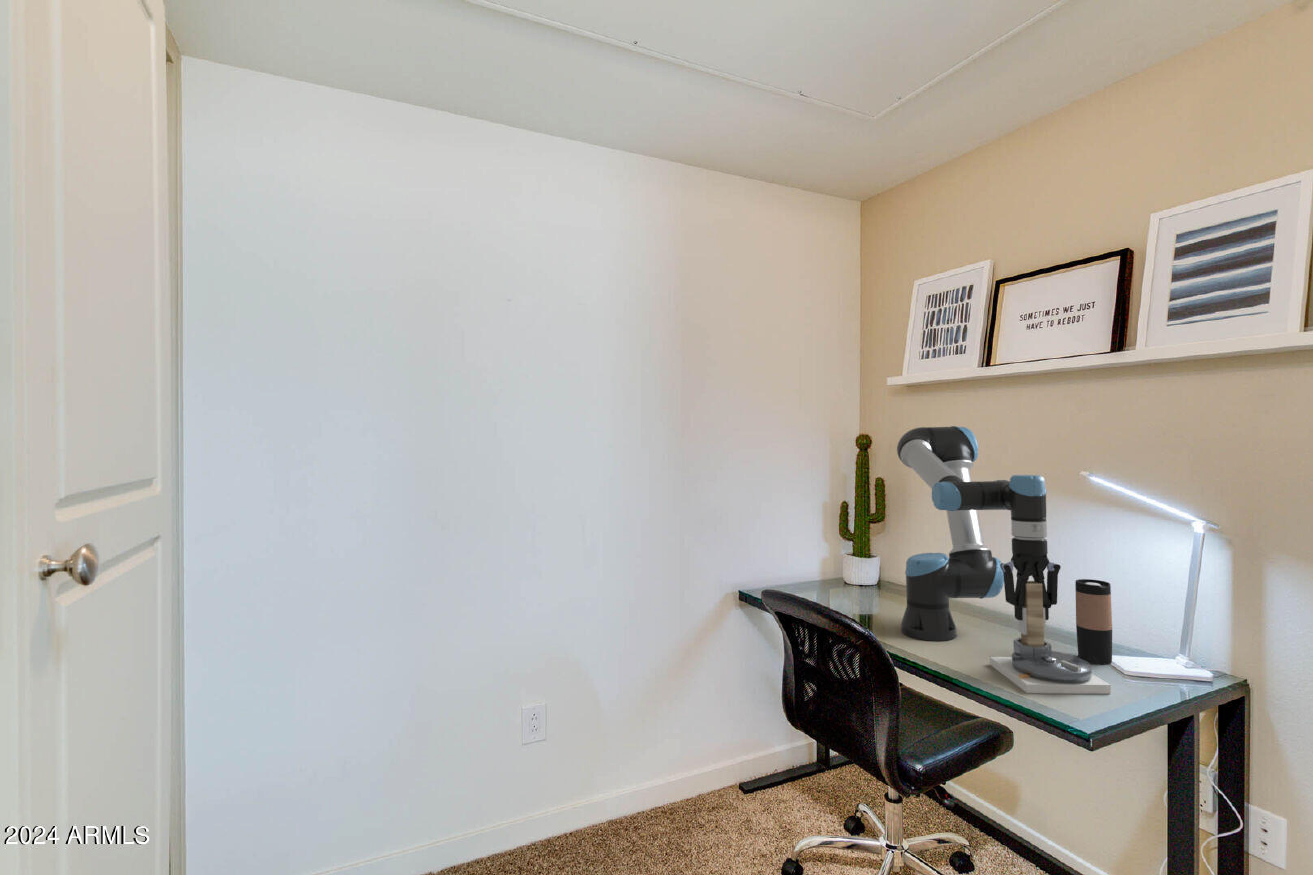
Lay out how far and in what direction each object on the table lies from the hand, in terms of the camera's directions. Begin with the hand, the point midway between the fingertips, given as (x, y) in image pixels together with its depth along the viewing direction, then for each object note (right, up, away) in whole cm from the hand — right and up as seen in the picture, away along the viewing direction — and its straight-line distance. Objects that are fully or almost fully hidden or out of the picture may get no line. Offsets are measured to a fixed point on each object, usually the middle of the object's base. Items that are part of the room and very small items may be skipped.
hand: (1032, 632), depth 151 cm
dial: (+2, -7, -5) cm, 9 cm away
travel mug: (+21, -10, +8) cm, 24 cm away
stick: (0, -4, 0) cm, 4 cm away
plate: (+1, -10, -4) cm, 10 cm away
